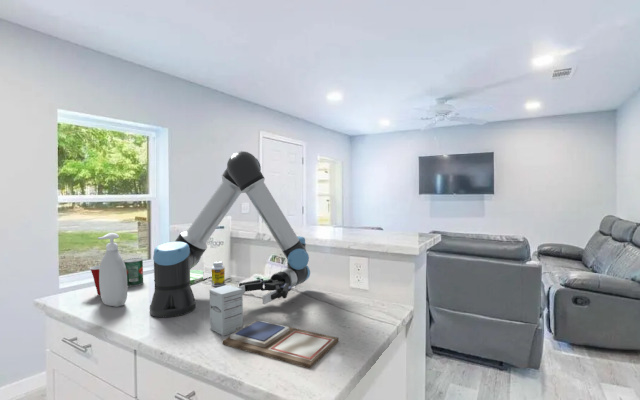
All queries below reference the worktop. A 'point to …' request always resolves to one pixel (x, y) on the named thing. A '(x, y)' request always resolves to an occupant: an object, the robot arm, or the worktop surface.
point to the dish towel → (195, 276)
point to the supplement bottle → (218, 274)
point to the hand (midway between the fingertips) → (247, 297)
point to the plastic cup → (96, 277)
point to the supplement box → (226, 309)
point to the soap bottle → (112, 274)
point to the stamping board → (282, 343)
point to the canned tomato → (134, 271)
